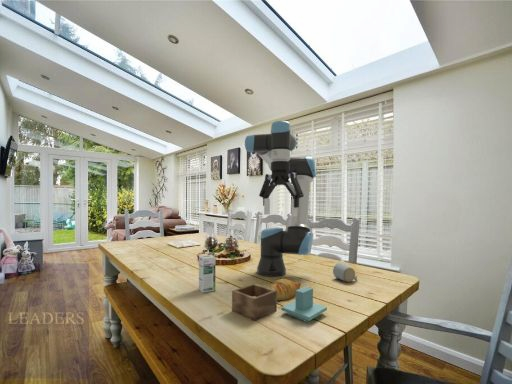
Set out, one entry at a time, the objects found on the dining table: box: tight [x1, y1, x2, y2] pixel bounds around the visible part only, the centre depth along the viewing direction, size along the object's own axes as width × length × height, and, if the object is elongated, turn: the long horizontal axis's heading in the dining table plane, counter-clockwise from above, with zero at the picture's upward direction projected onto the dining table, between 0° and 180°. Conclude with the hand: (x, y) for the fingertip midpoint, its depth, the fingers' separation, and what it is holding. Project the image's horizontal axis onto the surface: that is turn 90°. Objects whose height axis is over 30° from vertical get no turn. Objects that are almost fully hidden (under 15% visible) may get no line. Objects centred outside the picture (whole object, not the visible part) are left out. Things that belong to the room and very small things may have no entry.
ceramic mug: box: [332, 262, 358, 283], centre depth 133 cm, size 11×8×8 cm
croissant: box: [269, 278, 301, 301], centre depth 111 cm, size 21×10×8 cm, turn 132°
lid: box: [281, 286, 328, 323], centre depth 94 cm, size 11×11×9 cm
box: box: [231, 283, 278, 322], centre depth 96 cm, size 11×11×7 cm
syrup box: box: [198, 254, 216, 294], centre depth 117 cm, size 6×6×14 cm
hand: (280, 215), depth 108 cm, fingers open, 13 cm apart
